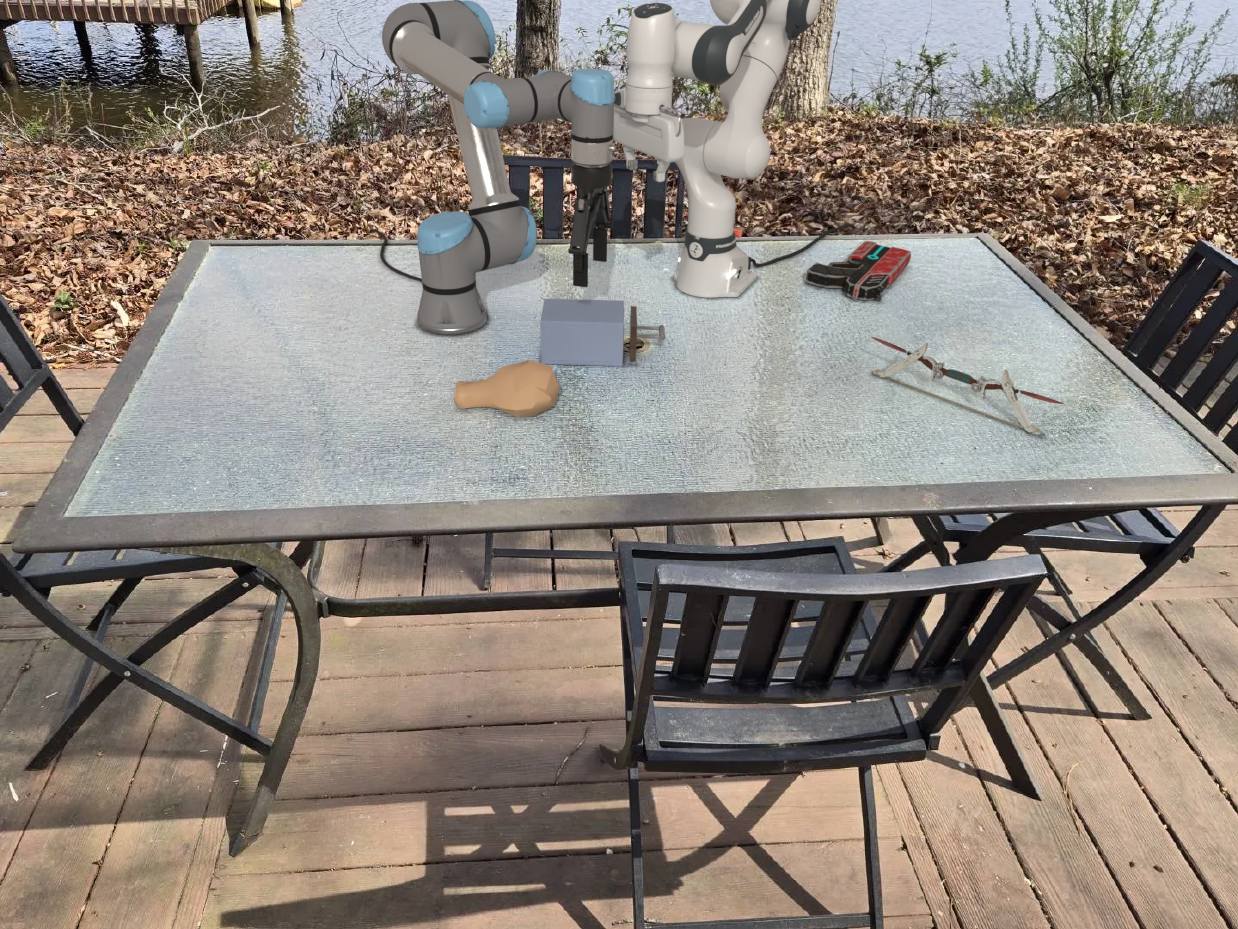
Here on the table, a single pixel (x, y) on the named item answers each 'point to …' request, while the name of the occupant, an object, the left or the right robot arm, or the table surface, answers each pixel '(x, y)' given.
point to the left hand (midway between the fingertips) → (590, 273)
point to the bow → (976, 386)
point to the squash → (512, 390)
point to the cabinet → (582, 332)
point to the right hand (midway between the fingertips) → (645, 174)
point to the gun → (862, 271)
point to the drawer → (634, 335)
